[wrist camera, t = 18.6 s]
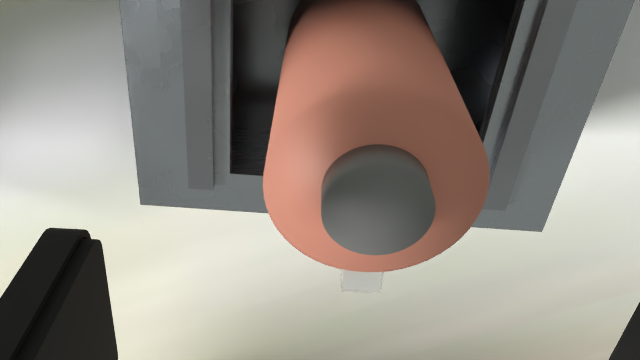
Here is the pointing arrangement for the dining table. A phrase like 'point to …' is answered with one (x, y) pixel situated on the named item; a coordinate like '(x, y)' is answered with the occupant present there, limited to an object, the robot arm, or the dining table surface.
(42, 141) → the dining table surface
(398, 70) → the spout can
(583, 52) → the grey metal box
